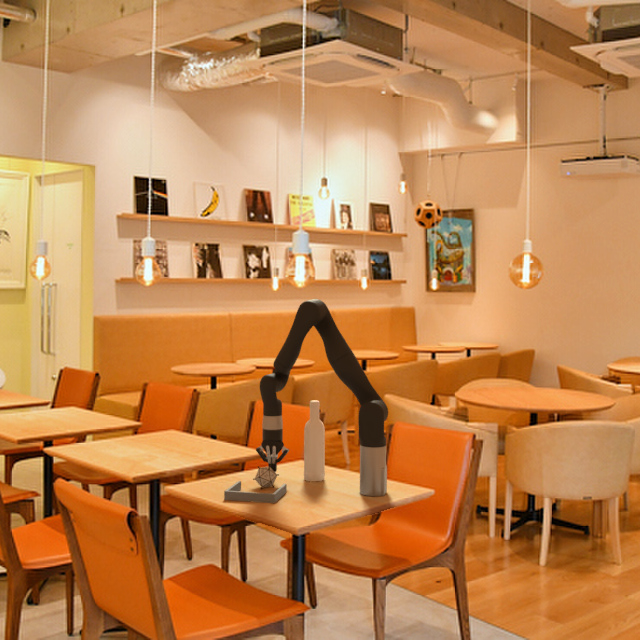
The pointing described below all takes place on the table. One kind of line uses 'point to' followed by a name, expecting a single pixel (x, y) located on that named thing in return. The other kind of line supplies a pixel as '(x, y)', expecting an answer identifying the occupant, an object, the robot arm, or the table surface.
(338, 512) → the table surface
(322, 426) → the bottle
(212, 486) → the table surface
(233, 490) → the bay
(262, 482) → the game die
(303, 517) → the table surface
